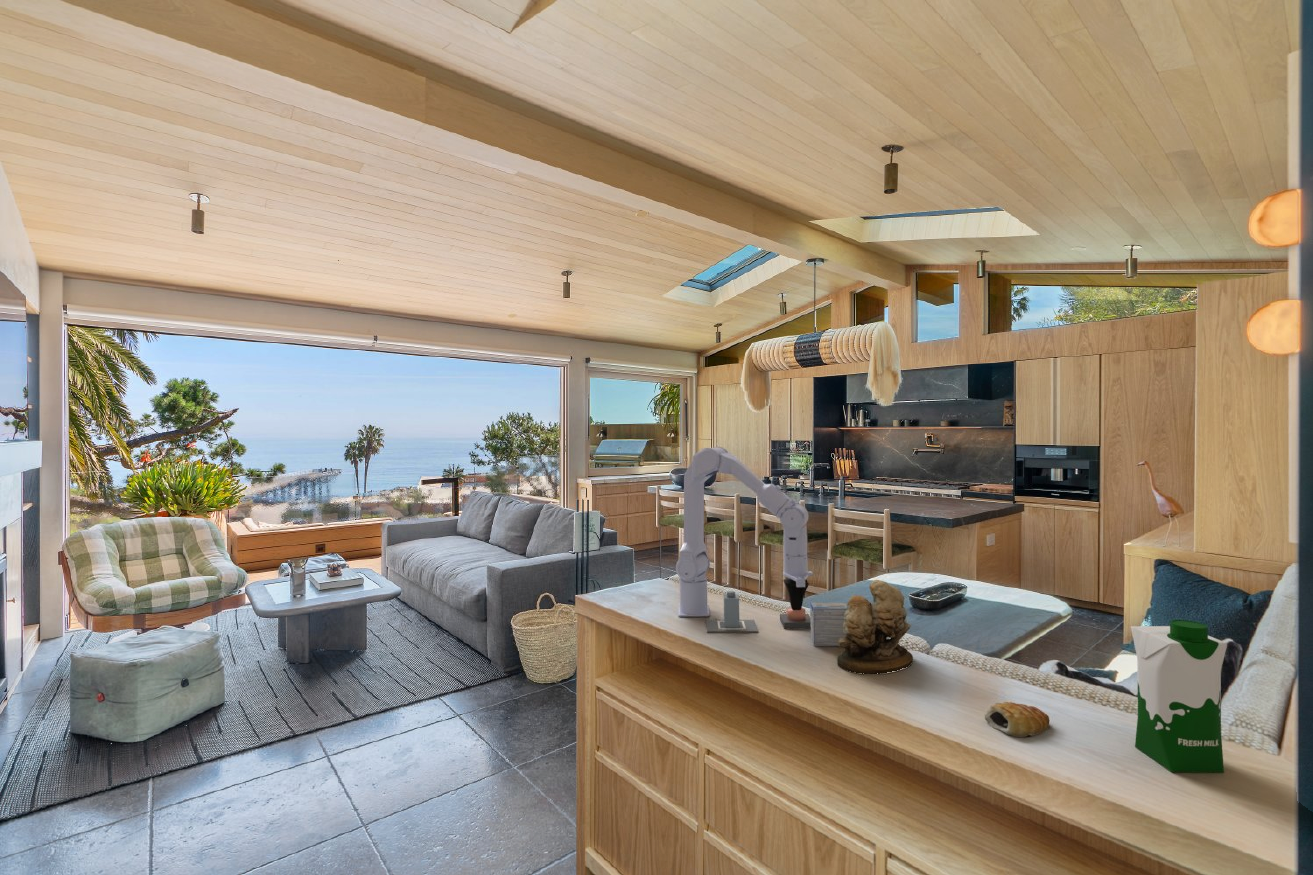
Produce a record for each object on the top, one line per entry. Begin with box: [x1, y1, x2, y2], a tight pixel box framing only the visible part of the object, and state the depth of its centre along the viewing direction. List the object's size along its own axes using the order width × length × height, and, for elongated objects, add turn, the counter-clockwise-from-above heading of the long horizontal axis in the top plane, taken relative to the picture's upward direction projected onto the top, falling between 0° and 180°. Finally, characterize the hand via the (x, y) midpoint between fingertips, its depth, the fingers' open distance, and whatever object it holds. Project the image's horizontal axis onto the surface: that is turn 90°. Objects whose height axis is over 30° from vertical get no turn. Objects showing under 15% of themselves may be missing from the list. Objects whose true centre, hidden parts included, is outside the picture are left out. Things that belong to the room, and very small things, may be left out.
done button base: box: [779, 613, 811, 630], centre depth 155 cm, size 7×7×2 cm
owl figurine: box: [836, 579, 914, 675], centre depth 129 cm, size 18×12×17 cm, turn 120°
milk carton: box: [1130, 619, 1228, 774], centre depth 90 cm, size 9×9×20 cm
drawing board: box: [705, 619, 759, 634], centre depth 154 cm, size 9×12×1 cm
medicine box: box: [809, 602, 847, 647], centre depth 141 cm, size 8×4×9 cm, turn 84°
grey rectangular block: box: [723, 590, 740, 627], centre depth 154 cm, size 4×4×8 cm
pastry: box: [984, 701, 1050, 738], centre depth 101 cm, size 9×7×4 cm
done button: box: [786, 606, 806, 621], centre depth 155 cm, size 4×4×2 cm
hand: (796, 609), depth 155 cm, fingers closed, pressing on done button
